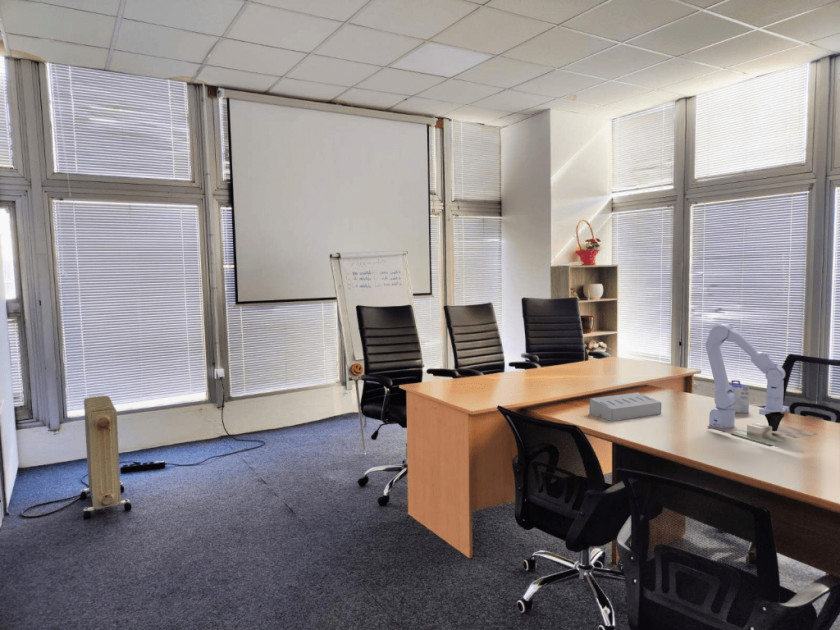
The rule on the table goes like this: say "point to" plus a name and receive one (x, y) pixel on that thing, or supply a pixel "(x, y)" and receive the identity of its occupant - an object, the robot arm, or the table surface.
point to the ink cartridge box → (741, 397)
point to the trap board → (776, 434)
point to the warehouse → (624, 406)
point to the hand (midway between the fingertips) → (773, 430)
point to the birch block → (759, 430)
